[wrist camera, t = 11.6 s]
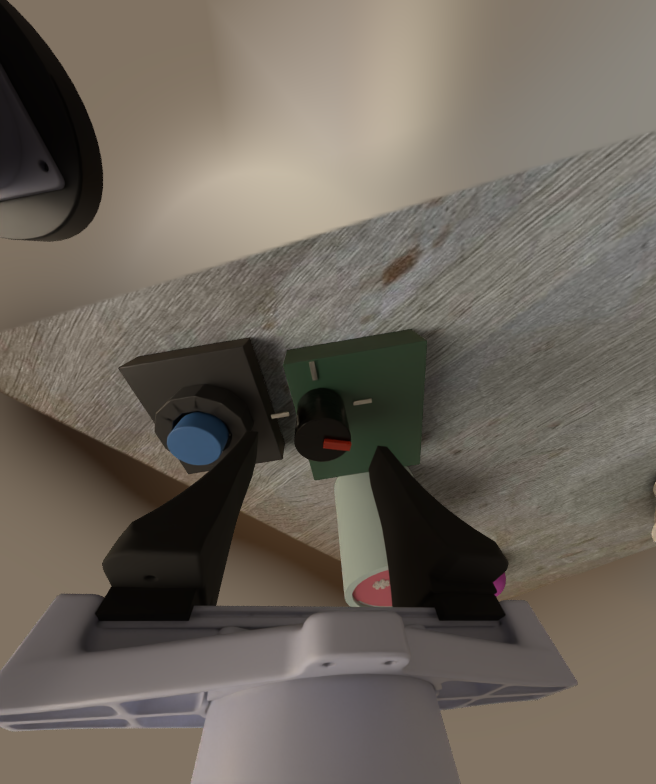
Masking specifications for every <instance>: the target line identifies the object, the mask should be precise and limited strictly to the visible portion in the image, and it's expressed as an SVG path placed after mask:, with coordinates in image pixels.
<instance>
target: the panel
mask: <svg viewBox="0 0 656 784" xmlns="http://www.w3.org/2000/svg"><path fill="white" fill-rule="evenodd" d="M426 353H427V340H426V339H424V338H423V337H421V336H420V335H419V334H417V333H416V332H414V331H413V330H412V329H409V330H403V331H397V332H391V333H385V334H380V335H374V336H368V337H362V338H356V339H350V340H344V341H338V342H332V343H327V344H321V345H315V346H309V347H303V348H297V349H291V350H287V352H286V356H285V360H284V363H283V367H284V371H285V374H286V378H287V382H288V385H289V389H290V393H291V396H292V400H293V404H294V407H295V411H296V415H297V408H298V403H299V400H300V399H301V397H302V396H303V395H304V394H305V393H307V392H308V391H310V390H313V389H316V388H327V389H330V390H333V391H335V392H336V393H338V394H339V395H340V396H341V398H342V399H343V402H344V405H345V410H346V415H347V419H348V424H349V428H350V433H351V444H352V445H351V448H350V451H346V452H345V453H344V454H343V455H342V456H341V457H339V458H337V459H335V460H332V461H327V462H317V461H312V460H309V462H310V466H311V469H312V473H313V477H314V480H320V479H327V478H333V477H340V476H346V475H353V474H359V473H366V472H369V470H368V469H369V466H370V464H371V461H372V459H373V456H374V454H375V451H376V448H377V446H386V447H388V448H389V449H390V451H391V452H392V453H393V454H394V455H395V457H396V458H397V459H398V460H399V461H400V463H401V464H402V465H403V466H404V467H405V466H411V465H418V464H420V454H421V437H422V420H423V403H424V386H425V369H426ZM286 416H290V414H289V411H287V412H281V413H274V414H271V418H272V419H274V418H280V417H286Z"/></svg>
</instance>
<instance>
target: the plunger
mask: <svg viewBox="0 0 656 784" xmlns="http://www.w3.org/2000/svg"><path fill="white" fill-rule="evenodd" d="M228 437H229V432H228V429H227V427H226V425H225V424H224V423H223V421H221V420H220V419H219V418H217V417H216V416H214V415H211V414H208V413H204V412H194V413H190V414H187V415H186V416H184V417H183V418H182V419H181V420H180V421H179V422H178V424H177V425H176V426H175V427H174V429H173V430H172V431H171V432H170V434H169V435H168V437H167V446H168V449H169V450H170V452H171V453H172V454H173V455H174V456H175V457H176V458H178V459H179V460H181V461H183V462H185V463H188V464H193V465H207V464H210V463H213V462H214V461H216V460H217V459H218V458H219V457H220V455H221V453H222V451H223V449H224V447H225V445H226V443H227V440H228Z"/></svg>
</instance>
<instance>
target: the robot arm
mask: <svg viewBox="0 0 656 784" xmlns="http://www.w3.org/2000/svg"><path fill="white" fill-rule="evenodd" d="M45 163H46V164H47V165H48V167H49V171H47V170H46V169H45ZM64 186H65V181H64V178H63V176H62V174H61V173H60V171H59V169H58V167H57V165H56V163H55V162H54V160H53V158H52V156H51V154H50V153H49V151H48V149H47V147H46V145H45V143H44V142H43V140H42V138H41V136H40V134H39V132H38V131H37V129H36V127H35V125H34V123H33V121H32V120H31V118H30V116H29V114H28V112H27V110H26V109H25V107H24V105H23V103H22V101H21V100H20V98H19V96H18V94H17V92H16V90H15V89H14V87H13V85H12V83H11V81H10V79H9V78H8V76H7V74H6V72H5V70H4V68H3V67H2V65H1V63H0V201H4V200H9V199H14V198H19V197H24V196H30V195H35V194H40V193H45V192H50V191H55V190H60V189H63V188H64ZM257 446H258V432H256V431H246V432H245V433H244V435H243V436H242V437H241V439H240V440H239V441H238V442H237V443H236V445H235V446H234V447H233V448H232V449H231V450H230V451H229V452H228V453H227V454H226V456H225V457H224V458H223V459H222V460H221V461H219V462H218V463H217V464H216V465H215V466H214V467H213V468H212V469H211V470H210V471H209V472H208V473H206V474H205V475H204V476H203V477H202V478H200V479H199V480H198V481H197V482H195V483H194V484H193V485H191V486H190V487H189V488H187V489H186V490H185V491H183V492H182V493H180V494H179V495H177V496H176V497H174V498H173V499H171V500H170V501H168V502H167V503H165V504H163V505H162V506H160V507H159V508H157V509H155V510H154V511H152V512H150V513H148V514H146V515H144V516H143V517H141V518H139V519H137V520H135V521H134V522H132V523H131V524H130V525H129V527H128V528H127V529H126V530H125V531H124V532H123V533H122V535H121V536H120V537H119V539H118V540H117V541H116V543H115V544H114V546H113V547H112V548H111V550H110V551H109V553H108V554H107V556H106V557H105V559H104V560H103V563H102V566H103V570H104V572H105V574H106V576H107V578H108V580H109V582H110V584H111V586H112V587H111V588H110V590H109V591H108V593H107V595H106V596H105V598H104V597H103V596H100V595H96V594H60V595H58V596H57V597H56V598H55V599H54V601H53V602H52V603H51V605H50V606H49V607H48V609H47V610H46V611H45V613H44V614H43V615H42V616H41V618H40V619H39V621H38V622H37V623H36V624H35V626H34V627H33V628H32V630H31V631H30V632H29V634H28V635H27V636H26V638H25V639H24V640H23V642H22V643H21V644H20V646H19V647H18V648H17V650H16V651H15V652H14V654H13V655H12V656H11V658H10V659H9V660H8V661H7V663H6V664H5V665H4V667H3V668H2V670H1V671H0V727H1V728H4V729H7V730H10V731H32V730H53V729H82V728H83V729H89V728H203V733H202V737H201V741H200V745H199V750H198V754H197V758H196V763H195V767H194V771H193V776H192V780H191V784H461V783H460V779H459V776H458V772H457V769H456V765H455V762H454V758H453V755H452V751H451V747H450V744H449V740H448V737H447V733H446V730H445V726H444V723H443V719H442V716H441V713H440V710H447V709H454V708H463V707H471V706H479V705H488V704H496V703H506V702H517V701H530V700H538V699H541V698H544V697H547V696H549V695H552V694H555V693H557V692H560V691H563V690H566V689H568V688H571V687H574V686H576V685H577V684H578V683H577V680H576V679H575V677H574V675H573V674H572V672H571V671H570V669H569V667H568V666H567V664H566V663H565V661H564V660H563V658H562V656H561V655H560V653H559V652H558V650H557V648H556V647H555V645H554V643H553V642H552V640H551V639H550V637H549V635H548V634H547V632H546V631H545V629H544V627H543V626H542V624H541V623H540V621H539V620H538V618H537V616H536V615H535V613H534V611H533V610H532V608H531V607H530V605H529V603H528V602H527V601H525V600H503V601H500V602H498V600H497V598H496V596H495V594H496V593H497V589H496V587H495V586H494V584H493V582H494V581H495V580H497V579H498V578H499V577H500V576H501V575H502V574H503V573H504V572H505V571H506V570H507V568H508V561H507V559H506V558H505V556H504V555H503V553H502V552H501V550H500V548H499V547H498V545H497V544H496V542H495V541H493V540H491V539H490V538H488V537H487V536H485V535H483V534H482V533H480V532H479V531H477V530H475V529H474V528H472V527H471V526H470V525H468V524H467V523H465V522H464V521H462V520H461V519H460V518H458V517H457V516H456V515H454V514H453V513H452V512H450V511H449V510H448V509H447V508H445V507H444V506H443V505H442V504H441V503H439V502H438V501H437V500H436V499H435V498H434V497H433V496H432V495H431V494H429V493H428V492H427V491H426V490H425V489H424V488H423V487H422V486H421V485H420V484H419V483H418V482H417V481H416V480H415V478H414V477H413V476H412V475H411V474H410V473H409V472H408V471H407V470H406V468H405V467H404V466H403V465H402V464H401V463H400V461H399V460H398V459H397V458H396V457H395V455H394V454H393V453H392V452H391V451H390V449H389V448H388V447H386V446H377V448H376V451H375V454H374V456H373V459H372V461H371V464H370V466H369V469H368V470H369V478H370V485H371V489H372V492H373V496H374V500H375V503H376V507H377V511H378V514H379V518H380V522H381V526H382V531H383V537H384V543H385V549H386V556H387V563H388V571H389V579H390V587H391V598H392V607H297V606H294V607H293V606H291V607H289V606H288V607H287V606H216V604H217V599H218V594H219V591H220V586H221V582H222V578H223V574H224V570H225V565H226V561H227V557H228V553H229V549H230V545H231V541H232V537H233V533H234V529H235V525H236V522H237V518H238V515H239V512H240V509H241V506H242V503H243V500H244V498H245V495H246V492H247V489H248V486H249V484H250V481H251V478H252V475H253V471H254V467H255V463H256V458H257Z"/></svg>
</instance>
